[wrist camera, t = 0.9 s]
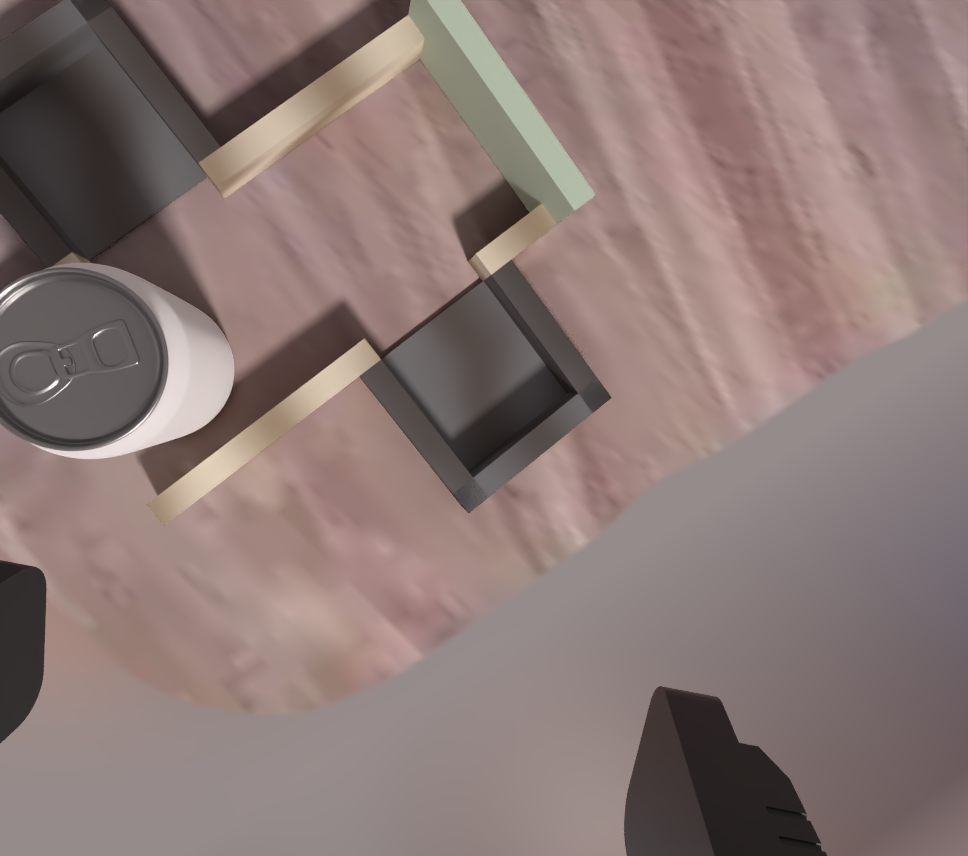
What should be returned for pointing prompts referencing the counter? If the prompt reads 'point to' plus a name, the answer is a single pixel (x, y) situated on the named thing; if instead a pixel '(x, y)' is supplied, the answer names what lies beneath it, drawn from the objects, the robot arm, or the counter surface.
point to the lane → (196, 155)
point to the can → (106, 362)
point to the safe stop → (497, 109)
